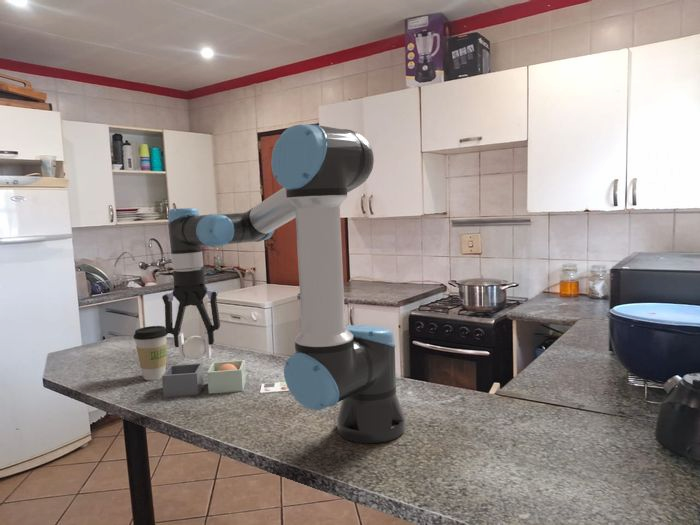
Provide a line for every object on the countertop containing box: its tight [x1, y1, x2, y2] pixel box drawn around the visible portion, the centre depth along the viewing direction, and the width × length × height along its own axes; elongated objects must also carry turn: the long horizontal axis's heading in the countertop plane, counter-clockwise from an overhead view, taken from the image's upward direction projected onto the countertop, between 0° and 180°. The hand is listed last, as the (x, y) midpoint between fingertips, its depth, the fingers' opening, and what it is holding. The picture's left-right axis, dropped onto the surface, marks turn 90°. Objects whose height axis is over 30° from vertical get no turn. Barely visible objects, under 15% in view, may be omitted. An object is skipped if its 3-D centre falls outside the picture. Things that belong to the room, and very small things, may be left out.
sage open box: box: [206, 359, 247, 395], centre depth 144 cm, size 9×9×6 cm
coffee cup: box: [133, 325, 169, 381], centre depth 154 cm, size 10×10×15 cm
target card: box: [259, 381, 290, 394], centre depth 141 cm, size 7×9×1 cm
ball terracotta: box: [218, 364, 237, 371], centre depth 143 cm, size 6×6×6 cm
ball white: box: [183, 335, 206, 360], centre depth 130 cm, size 6×6×6 cm
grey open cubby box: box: [161, 362, 205, 398], centre depth 142 cm, size 9×9×6 cm
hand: (195, 357), depth 131 cm, fingers closed on ball white, 6 cm apart
